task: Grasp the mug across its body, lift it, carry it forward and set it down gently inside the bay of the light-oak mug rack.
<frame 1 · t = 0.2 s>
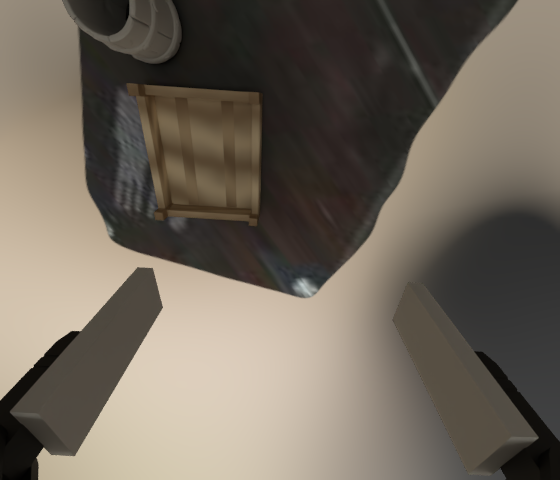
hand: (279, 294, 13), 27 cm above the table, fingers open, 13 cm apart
mug: (156, 5, 28), on the table
rack: (210, 156, 36), on the table
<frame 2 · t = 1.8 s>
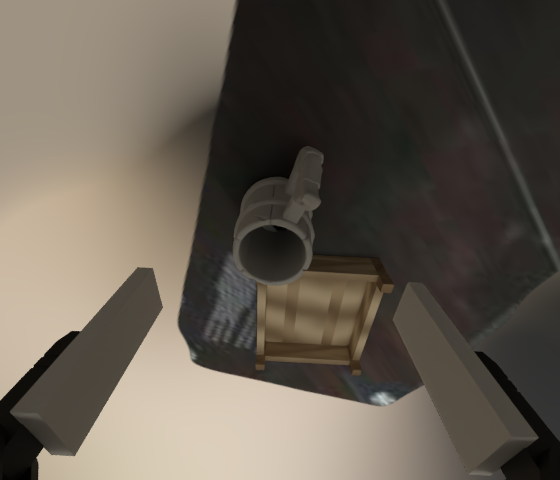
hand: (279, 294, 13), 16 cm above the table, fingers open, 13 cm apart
mug: (284, 190, 27), on the table
rack: (311, 304, 35), on the table
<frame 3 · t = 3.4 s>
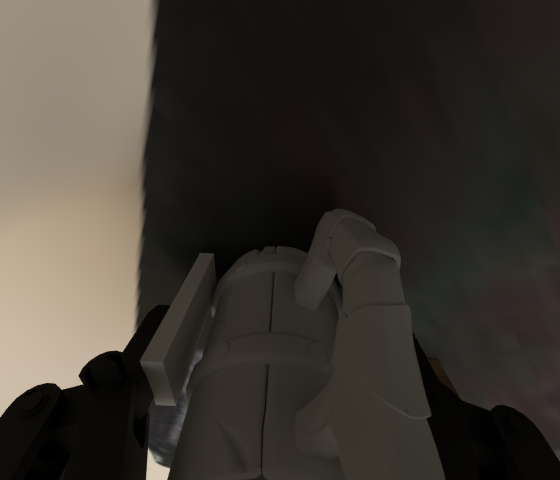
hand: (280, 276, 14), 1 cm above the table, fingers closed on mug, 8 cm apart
mug: (291, 266, 15), on the table, touching gripper
rack: (326, 410, 23), on the table
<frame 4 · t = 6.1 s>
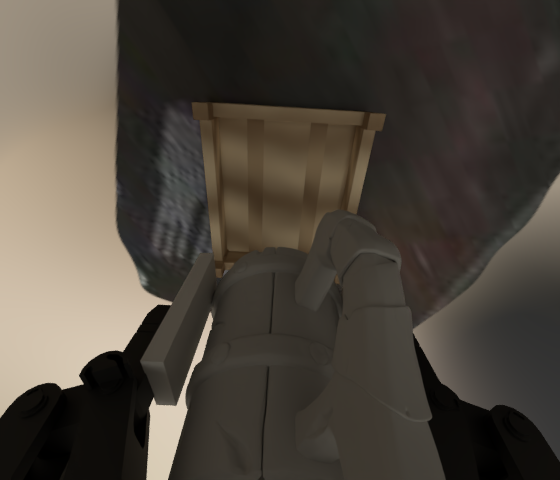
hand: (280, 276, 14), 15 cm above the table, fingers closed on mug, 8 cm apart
mug: (292, 266, 15), point 14 cm above the table, touching gripper
rack: (283, 192, 27), on the table
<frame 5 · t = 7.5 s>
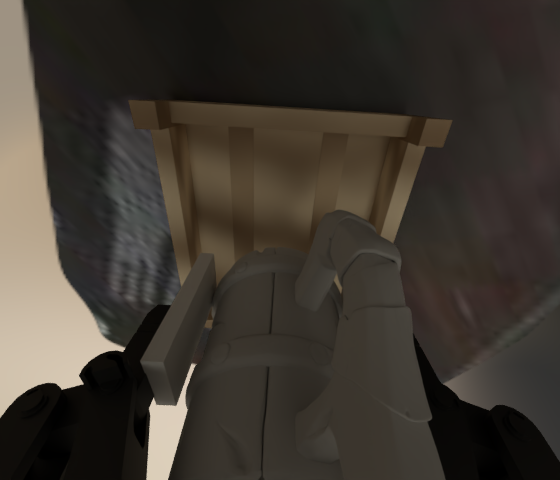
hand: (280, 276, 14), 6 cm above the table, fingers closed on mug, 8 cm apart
mug: (292, 267, 15), point 5 cm above the table, touching gripper
rack: (282, 225, 20), on the table
when the fingers open (4 cm above the table, at t = 8.4 s): mug drops 2 cm, resting on rack.
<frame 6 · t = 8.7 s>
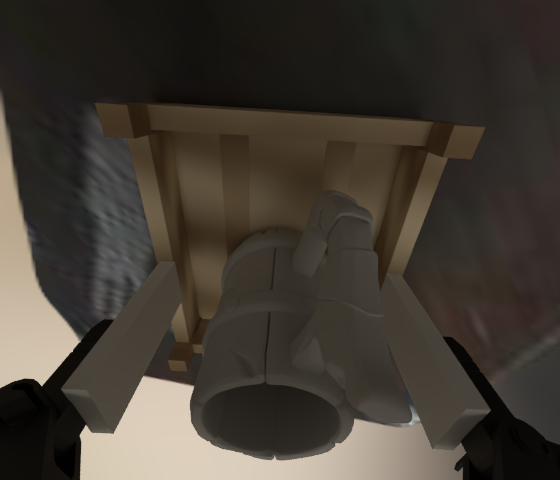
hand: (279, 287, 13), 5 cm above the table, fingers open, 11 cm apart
mug: (291, 247, 17), point 1 cm above the table, touching rack
rack: (281, 241, 18), on the table
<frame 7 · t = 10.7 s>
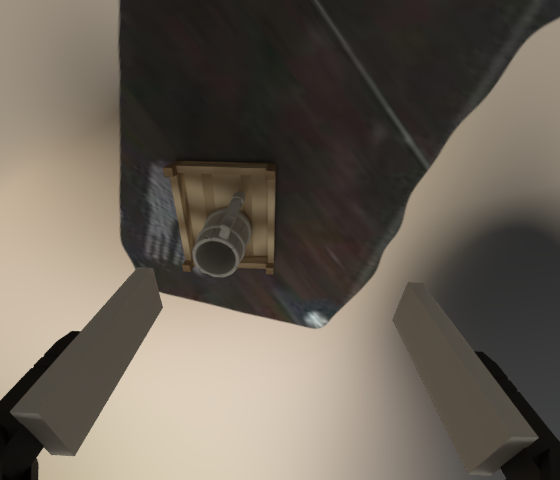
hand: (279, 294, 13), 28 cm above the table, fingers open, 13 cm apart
mug: (234, 215, 40), point 1 cm above the table, touching rack
rack: (230, 214, 41), on the table
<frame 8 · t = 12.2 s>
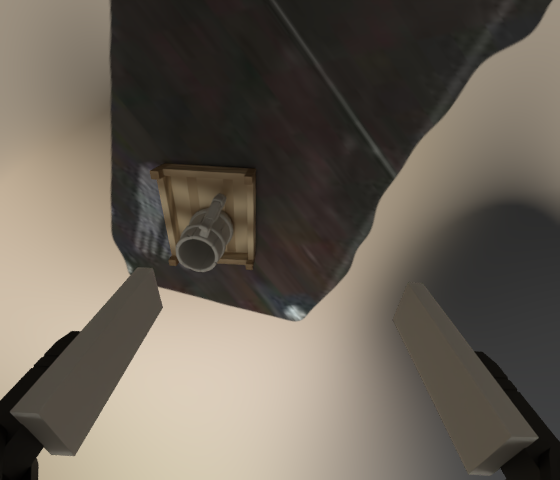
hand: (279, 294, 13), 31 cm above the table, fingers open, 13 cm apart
mug: (217, 215, 43), point 1 cm above the table, touching rack
rack: (214, 213, 44), on the table
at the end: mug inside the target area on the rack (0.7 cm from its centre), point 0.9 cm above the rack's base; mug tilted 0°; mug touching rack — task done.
